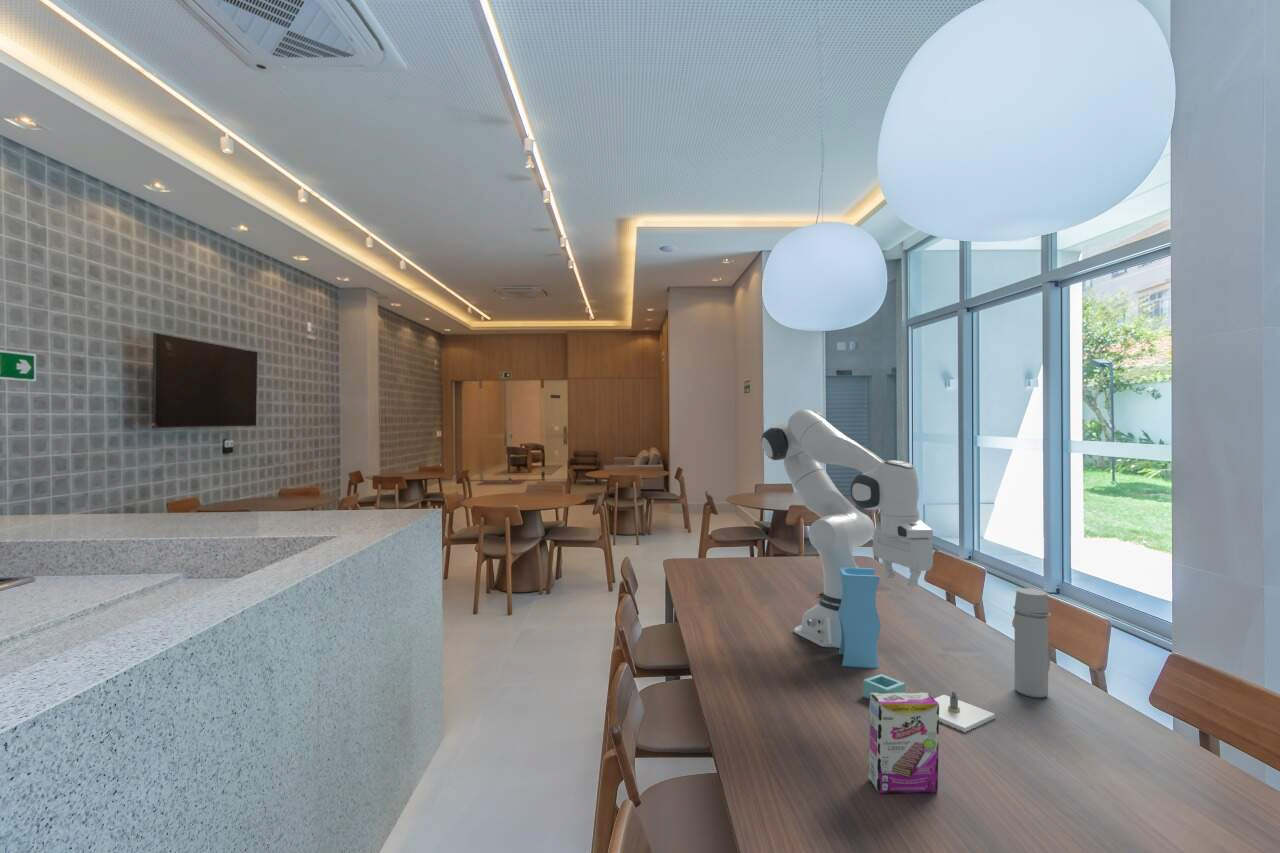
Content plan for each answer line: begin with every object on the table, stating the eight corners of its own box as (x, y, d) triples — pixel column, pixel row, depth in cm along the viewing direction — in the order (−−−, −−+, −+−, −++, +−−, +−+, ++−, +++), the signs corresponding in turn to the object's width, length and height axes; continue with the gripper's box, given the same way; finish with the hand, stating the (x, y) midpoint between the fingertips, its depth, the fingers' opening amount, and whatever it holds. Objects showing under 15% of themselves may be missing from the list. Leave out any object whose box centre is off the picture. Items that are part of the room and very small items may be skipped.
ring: (863, 696, 151) (863, 679, 151) (880, 689, 154) (880, 673, 154) (887, 707, 145) (887, 689, 145) (905, 700, 149) (905, 683, 149)
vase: (880, 668, 168) (880, 576, 168) (842, 665, 170) (842, 574, 170) (874, 655, 178) (874, 568, 178) (838, 653, 180) (838, 566, 180)
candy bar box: (878, 795, 110) (878, 703, 110) (867, 779, 115) (867, 691, 115) (940, 794, 111) (940, 702, 111) (926, 778, 116) (926, 690, 116)
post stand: (914, 711, 143) (914, 688, 143) (944, 698, 150) (944, 677, 150) (965, 732, 133) (965, 708, 133) (994, 718, 139) (994, 695, 139)
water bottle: (1033, 701, 148) (1033, 596, 148) (1005, 688, 156) (1005, 588, 155) (1063, 697, 150) (1063, 594, 150) (1034, 684, 158) (1034, 586, 158)
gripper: (866, 521, 164) (867, 573, 163) (913, 532, 144) (914, 592, 143) (887, 520, 165) (888, 572, 165) (937, 531, 145) (938, 590, 144)
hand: (901, 581), depth 154 cm, fingers open, 8 cm apart
